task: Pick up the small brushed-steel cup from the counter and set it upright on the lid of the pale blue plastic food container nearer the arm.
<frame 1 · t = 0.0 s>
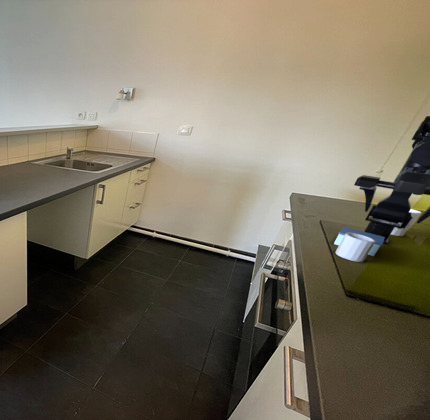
hand: (390, 217, 70), 15 cm above the counter, tool pointing down, fingers open, 9 cm apart
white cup: (389, 232, 97), on the counter
cup: (348, 256, 77), on the counter
container: (354, 246, 84), on the counter
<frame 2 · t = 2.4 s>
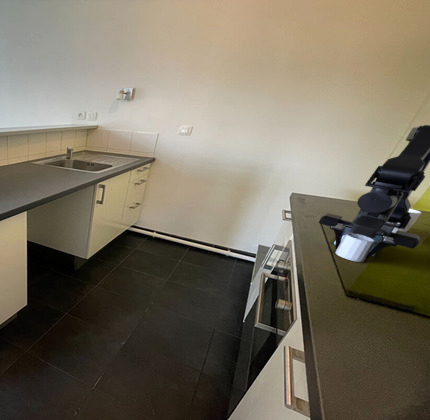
hand: (350, 253, 77), 1 cm above the counter, tool pointing down, fingers closed on cup, 6 cm apart
cup: (348, 256, 77), on the counter, touching gripper
everything else where it was.
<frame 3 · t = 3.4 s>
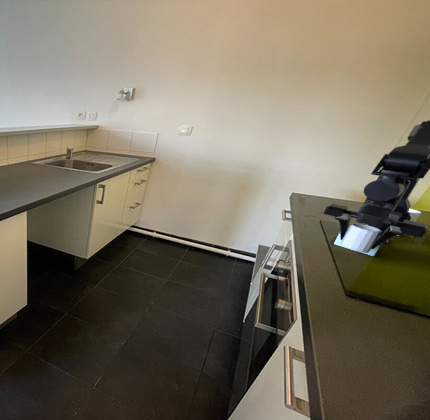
hand: (356, 244, 75), 5 cm above the counter, tool pointing down, fingers closed on cup, 6 cm apart
cup: (354, 247, 76), point 3 cm above the counter, touching gripper
everything else where it was.
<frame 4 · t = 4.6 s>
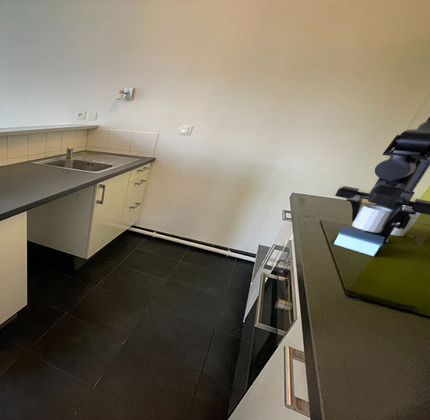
hand: (367, 224, 77), 10 cm above the counter, tool pointing down, fingers closed on cup, 6 cm apart
cup: (365, 228, 77), point 8 cm above the counter, touching gripper
everything else where it was.
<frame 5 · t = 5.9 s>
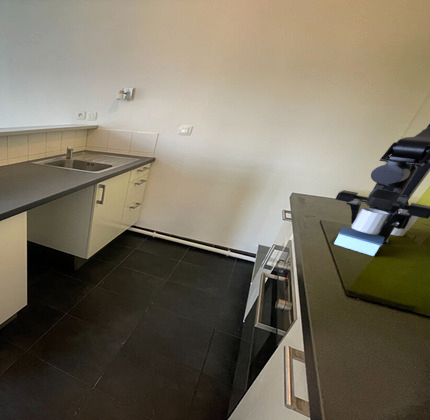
hand: (366, 227, 81), 7 cm above the counter, tool pointing down, fingers closed on cup, 6 cm apart
cup: (364, 230, 81), point 6 cm above the counter, touching gripper
everything else where it was.
when the fingers open (6 cm above the counter, at t = 6.9 s): cup stays where it is, resting on container.
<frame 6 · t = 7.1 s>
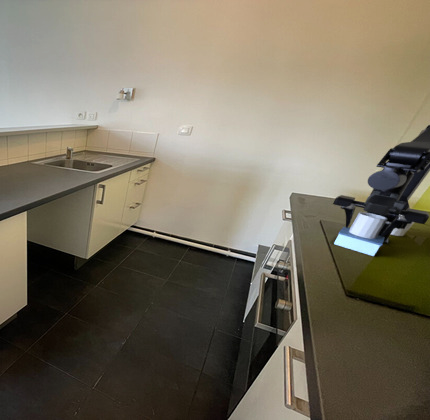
hand: (363, 231, 82), 6 cm above the counter, tool pointing down, fingers open, 7 cm apart
cup: (361, 234, 82), point 5 cm above the counter, touching container
everything else where it was.
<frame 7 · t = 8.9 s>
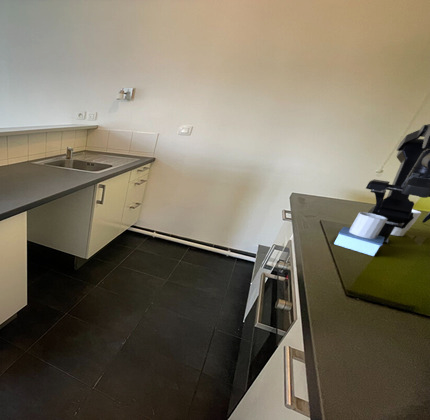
hand: (398, 217, 78), 12 cm above the counter, tool pointing down, fingers open, 9 cm apart
nothing on the counter moved.
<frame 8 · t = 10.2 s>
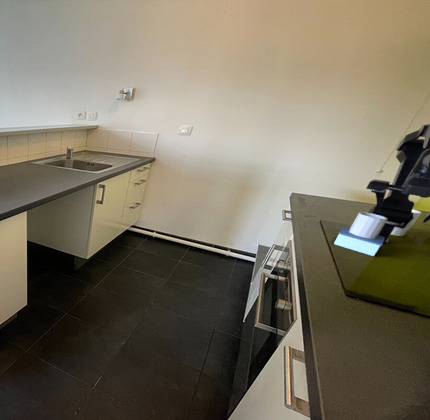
hand: (399, 217, 78), 12 cm above the counter, tool pointing down, fingers open, 9 cm apart
nothing on the counter moved.
at the end: cup inside the target area on the container (0.0 cm from its centre), point 4.6 cm above the container's base; cup tilted 0°; the gripper is holding nothing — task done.
